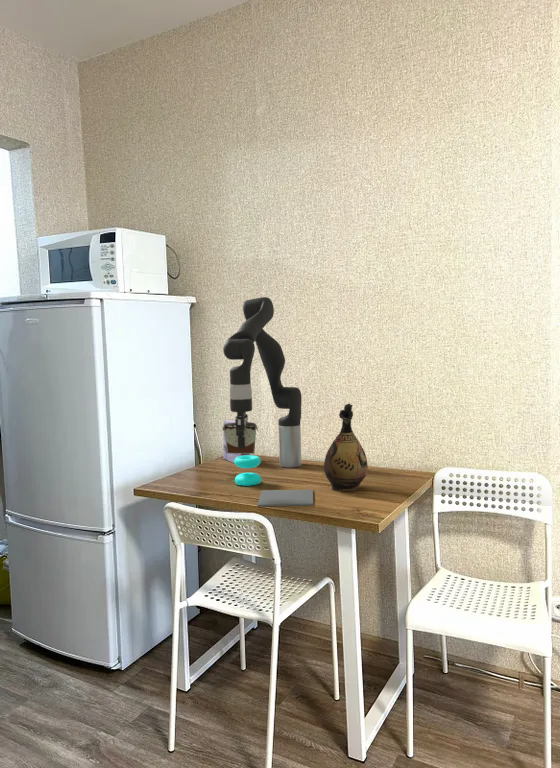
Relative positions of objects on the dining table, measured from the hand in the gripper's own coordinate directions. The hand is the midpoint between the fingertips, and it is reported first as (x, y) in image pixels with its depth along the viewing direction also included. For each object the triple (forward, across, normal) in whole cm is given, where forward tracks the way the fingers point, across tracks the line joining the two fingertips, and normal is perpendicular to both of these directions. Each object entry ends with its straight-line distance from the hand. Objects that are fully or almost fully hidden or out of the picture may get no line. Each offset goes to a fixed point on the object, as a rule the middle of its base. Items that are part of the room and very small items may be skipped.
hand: (242, 445), depth 209 cm
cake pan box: (+18, +55, +10) cm, 59 cm away
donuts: (+18, +17, 0) cm, 24 cm away
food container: (+2, +1, 0) cm, 2 cm away
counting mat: (+17, -5, -15) cm, 23 cm away
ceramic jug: (+18, +8, -36) cm, 41 cm away
